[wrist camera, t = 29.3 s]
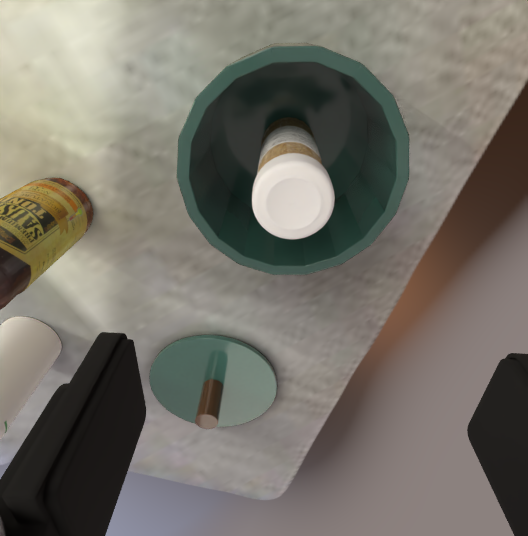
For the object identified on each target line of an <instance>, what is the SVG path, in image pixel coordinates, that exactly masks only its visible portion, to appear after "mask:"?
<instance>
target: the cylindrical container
mask: <svg viewBox="0 0 528 536" xmlns="http://www.w3.org/2000/svg"><path fill="white" fill-rule="evenodd" d="M61 349H62V345H61V341H60V338H59V337H58V335H57V334H56V333H55V331H54V330H53V329H51V328H50V327H49V326H48V325H46V324H45V323H43V322H41V321H39V320H36V319H33V318H29V317H20V316H18V317H12V318H9V319H7V320H6V321H4V322H3V323H2V324H1V325H0V440H1V438H2V437H3V436H4V434H5V433H6V431H7V430H8V428H9V427H10V425H11V424H12V422H13V421H14V420H15V418H16V417H17V415H18V414H19V412H20V411H21V409H22V408H23V407H24V405H25V404H26V402H27V401H28V399H29V398H30V396H31V395H32V394H33V392H34V391H35V389H36V388H37V386H38V385H39V383H40V382H41V380H42V379H43V378H44V376H45V375H46V373H47V372H48V370H49V369H50V367H51V366H52V365H53V363H54V362H55V360H56V359H57V357H58V356H59V354H60V352H61Z"/></svg>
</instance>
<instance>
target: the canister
mask: <svg viewBox="0 0 528 536" xmlns="http://www.w3.org/2000/svg"><path fill="white" fill-rule="evenodd" d="M288 117H291V118H296V119H298V120H301V121H303V122H304V123H305V124H306V125H307V126H308V127H309V128H310V129H311V131H312V133H313V135H314V139H315V143H316V145H317V148H318V151H319V154H320V157H321V162H322V165H323V167H324V168H325V169H326V171H327V173H328V174H329V177H330V179H331V182H332V186H333V189H334V195H335V201H334V208H333V211H332V214H331V216H330V218H329V220H328V221H327V223H326V224H325V225H324V226H323V227H322V228H321V229H320V230H318V231H317V232H316V233H314V234H312V235H310V236H308V237H305V238H301V239H284V238H280V237H277V236H275V235H273V234H271V233H269V232H268V231H266V230H265V229H264V228H263V227H262V226H261V225H260V223H259V222H258V221H257V219H256V217H255V215H254V212H253V208H252V191H253V185H254V181H255V178H256V176H257V172H258V165H259V159H260V152H261V142H262V138H263V135H264V133H265V131H266V129H267V128H268V127H269V126H270V125H271V124H272V123H273V122H275V121H277V120H279V119H281V118H288ZM408 136H409V134H408V132H407V129H406V126H405V124H404V121H403V119H402V116H401V114H400V111H399V108H398V106H397V103H396V101H395V98H394V97H393V95H392V94H391V93H390V92H389V91H388V90H387V89H386V87H385V86H384V85H383V84H382V83H381V82H380V81H379V80H378V79H377V78H376V77H375V76H374V75H373V74H372V73H371V72H370V71H369V70H368V69H367V68H366V67H365V66H364V65H363V64H361V63H360V62H357V61H355V60H353V59H350V58H348V57H345V56H343V55H340V54H338V53H336V52H333V51H331V50H328V49H326V48H324V47H321V46H318V45H313V44H309V43H275V44H271V45H269V46H266V47H264V48H262V49H259V50H257V51H255V52H253V53H250V54H248V55H246V56H244V57H241V58H240V59H238V60H236V61H235V62H233V63H231V64H229V65H228V66H226V67H225V68H224V70H223V71H222V72H221V73H220V74H219V75H218V76H217V77H216V78H215V79H214V80H213V81H212V82H211V83H210V84H209V85H208V86H207V87H206V88H205V89H204V90H203V91H202V92H201V93H200V94H199V95H198V96H197V97H196V99H195V101H194V103H193V105H192V108H191V110H190V112H189V115H188V117H187V119H186V122H185V124H184V126H183V129H182V131H181V133H180V136H179V139H178V161H177V180H178V183H179V187H180V190H181V193H182V196H183V199H184V202H185V206H186V209H187V212H188V214H189V216H190V218H191V219H192V221H193V222H194V223H195V225H196V226H197V227H198V229H199V230H200V231H201V233H202V234H203V235H204V237H205V238H206V239H207V241H208V242H209V243H210V244H211V245H212V246H213V247H215V248H216V249H218V250H219V251H221V252H222V253H223V254H225V255H226V256H228V257H229V258H231V259H232V260H233V261H235V262H236V263H238V264H240V265H243V266H246V267H250V268H253V269H256V270H259V271H262V272H266V273H269V274H273V275H307V274H311V273H314V272H317V271H321V270H324V269H328V268H331V267H334V266H338V265H340V264H343V263H344V262H346V261H347V260H349V259H350V258H352V257H353V256H355V255H356V254H358V253H359V252H361V251H362V250H364V249H365V248H367V247H368V246H370V245H371V244H372V243H373V242H374V241H375V239H376V238H377V237H378V236H379V234H380V233H381V232H382V231H383V229H384V228H385V227H386V226H387V224H388V223H389V222H390V221H391V219H392V218H393V217H394V216H395V214H396V212H397V209H398V207H399V204H400V201H401V199H402V196H403V193H404V190H405V188H406V185H407V182H408V180H409V178H408V177H409V137H408Z"/></svg>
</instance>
